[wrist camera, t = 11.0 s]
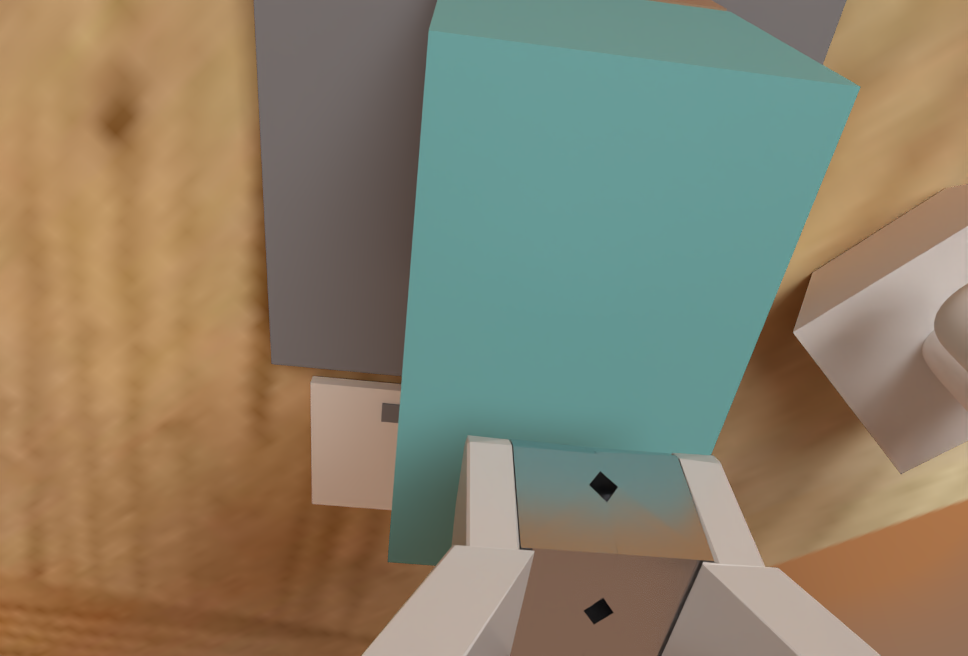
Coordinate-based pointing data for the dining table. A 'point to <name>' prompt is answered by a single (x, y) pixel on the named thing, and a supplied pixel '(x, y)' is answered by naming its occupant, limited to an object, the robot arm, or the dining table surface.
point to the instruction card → (353, 442)
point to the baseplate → (372, 164)
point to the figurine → (899, 329)
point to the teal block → (595, 230)
